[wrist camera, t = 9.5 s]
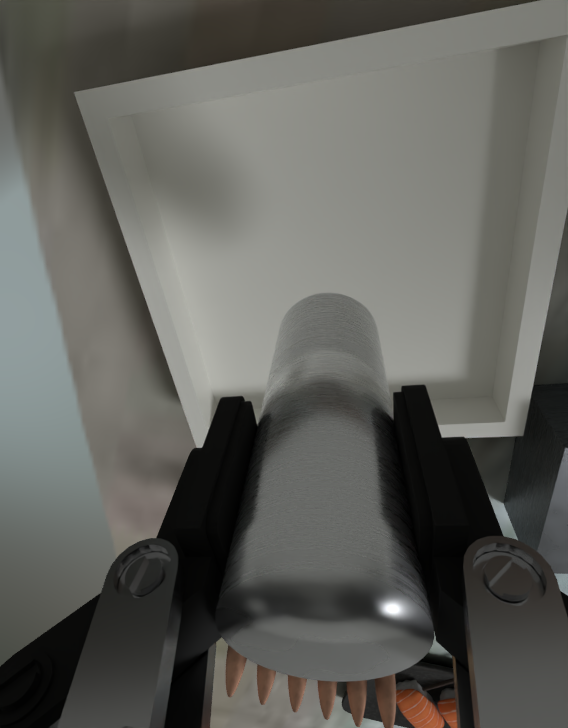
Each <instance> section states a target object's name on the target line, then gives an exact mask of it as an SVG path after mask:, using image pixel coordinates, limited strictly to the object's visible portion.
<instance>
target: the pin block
mask: <svg viewBox="0 0 568 728" xmlns="http://www.w3.org/2000/svg"><path fill="white" fill-rule="evenodd" d="M504 506H505V508H506V511H507V513H508V516H509V518H510V521H511V523H512V526H513V528H514V531H515V533H516V536H517V538H518V541H520V542H522V543H524V544H527V545H529V546H530V547H531V548H533V549H534V550H535V551H537V552H538V553H539V554H541V555H542V557H543V558H544V559H545V560H546V561H547V563H548V564H549V565H550V566H551V568H552V570H553V572H554V573H564V574H568V384H552V385H534V386H533V389H532V394H531V399H530V404H529V409H528V414H527V419H526V424H525V429H524V435H523V436H516V440H515V446H514V451H513V457H512V462H511V467H510V473H509V478H508V484H507V489H506V495H505V500H504Z"/></svg>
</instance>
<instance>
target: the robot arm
mask: <svg viewBox="0 0 568 728" xmlns="http://www.w3.org/2000/svg"><path fill="white" fill-rule="evenodd" d="M393 420H394V426H395V431H396V436H397V442H398V447H399V453H400V458H401V464H402V469H403V475H404V480H405V486H406V491H407V497H408V502H409V508H410V513H411V519H412V524H413V530H414V535H415V541H416V546H417V552H418V557H419V562H420V564H421V567H422V570H423V574H424V580H425V585H426V590H427V596H428V601H429V606H430V612H431V617H432V622H433V628H434V631H435V636H436V641H437V642H438V643H439V644H440V645H441V646H442V647H444V648H445V649H446V650H447V651H448V652H449V653H450V654H451V655H452V658H453V673H454V687H455V701H456V715H457V728H568V596H567V595H566V594H564V593H563V592H561V591H560V589H559V586H558V582H557V579H556V577H555V575H554V572H553V570H552V568H551V566H550V565H549V564H548V563H547V561H546V560H545V559H544V558H543V557H542V555H541V554H539V553H538V552H537V551H535V550H534V549H533V548H531V547H530V546H529V545H527V544H524V543H522V542H520V541H518V540H516V539H512V538H508V537H504V536H503V534H502V531H501V528H500V526H499V523H498V520H497V518H496V515H495V513H494V510H493V507H492V505H491V502H490V499H489V497H488V494H487V492H486V489H485V486H484V484H483V481H482V479H481V476H480V473H479V471H478V468H477V465H476V463H475V460H474V458H473V455H472V452H471V450H470V447H469V444H468V442H467V440H466V439H465V437H442V436H441V433H440V430H439V427H438V423H437V420H436V417H435V414H434V411H433V407H432V404H431V401H430V398H429V395H428V391H427V388H426V386H425V385H424V384H423V385H407V386H402V387H401V392H393ZM256 431H257V422H256V418H255V414H254V409H253V405H252V402H251V401H245V399H244V397H243V396H232V397H222V398H221V399H220V400H219V403H218V406H217V409H216V411H215V414H214V417H213V420H212V422H211V425H210V428H209V430H208V433H207V436H206V439H205V441H204V444H203V447H202V448H194V449H193V450H192V451H191V453H190V455H189V457H188V459H187V462H186V464H185V467H184V470H183V472H182V475H181V477H180V480H179V482H178V485H177V487H176V490H175V492H174V495H173V497H172V500H171V502H170V505H169V507H168V510H167V513H166V515H165V518H164V520H163V523H162V525H161V528H160V530H159V533H158V535H157V538H150V539H146V540H142V541H139V542H137V543H135V544H134V545H132V546H130V547H128V548H127V549H126V550H125V551H123V552H122V553H121V554H120V555H119V556H118V557H117V559H116V560H115V561H114V562H113V564H112V565H111V567H110V569H109V571H108V574H107V576H106V579H105V582H104V585H103V588H102V591H101V593H100V594H99V595H97V596H96V597H95V598H93V599H92V600H90V601H89V602H87V603H86V604H85V605H83V606H82V607H80V608H79V609H77V610H76V611H75V612H73V613H72V614H70V615H69V616H68V617H66V618H65V619H63V620H62V621H61V622H59V623H58V624H56V625H55V626H54V627H52V628H51V629H49V630H48V631H47V632H45V633H44V634H42V635H41V636H40V637H38V638H37V639H35V640H34V641H33V642H31V643H30V644H29V645H27V646H26V647H24V648H23V649H21V650H20V651H18V652H17V653H16V654H14V655H13V656H12V657H11V658H10V659H8V660H7V661H6V662H5V663H4V664H3V665H1V667H0V728H210V717H211V705H212V692H213V680H214V667H215V655H216V642H217V641H218V640H219V639H220V638H221V637H222V636H221V635H220V633H219V631H218V629H217V626H216V622H215V614H216V608H217V604H218V599H219V595H220V591H221V586H222V582H223V577H224V573H225V568H226V564H227V559H228V555H229V551H230V546H231V542H232V537H233V533H234V528H235V524H236V519H237V515H238V511H239V506H240V502H241V497H242V493H243V488H244V484H245V480H246V475H247V471H248V466H249V462H250V457H251V453H252V448H253V444H254V440H255V435H256Z"/></svg>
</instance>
